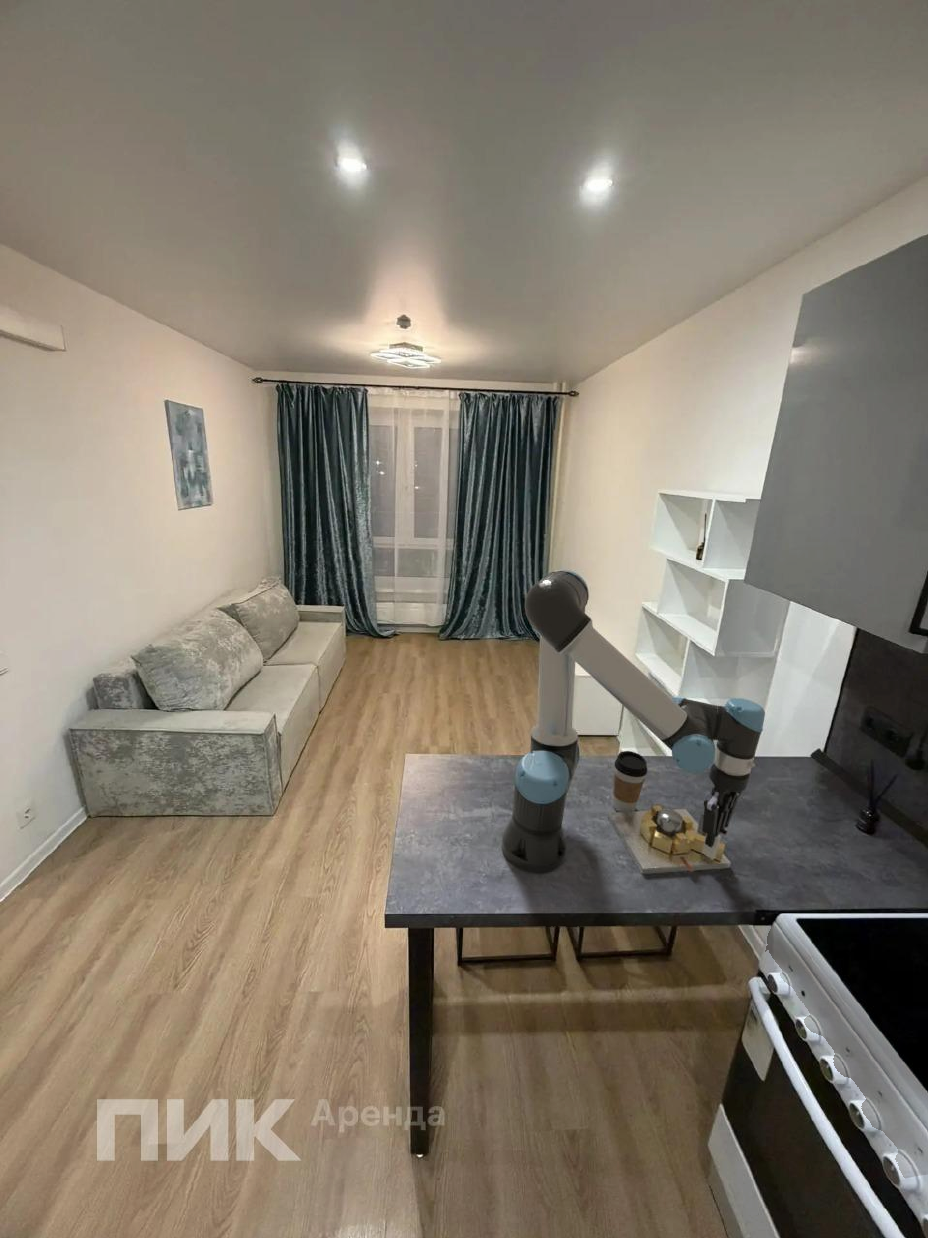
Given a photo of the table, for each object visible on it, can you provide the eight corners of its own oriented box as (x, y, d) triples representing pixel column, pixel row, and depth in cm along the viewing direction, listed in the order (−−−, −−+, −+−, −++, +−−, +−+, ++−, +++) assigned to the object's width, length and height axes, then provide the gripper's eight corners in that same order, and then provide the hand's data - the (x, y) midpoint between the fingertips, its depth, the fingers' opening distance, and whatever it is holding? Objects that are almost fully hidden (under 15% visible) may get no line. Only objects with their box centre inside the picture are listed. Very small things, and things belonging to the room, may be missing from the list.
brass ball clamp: (635, 839, 122) (638, 824, 121) (647, 813, 132) (650, 799, 131) (717, 874, 113) (721, 859, 111) (724, 843, 122) (728, 829, 121)
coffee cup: (635, 798, 140) (644, 752, 136) (643, 819, 132) (652, 770, 128) (605, 795, 141) (613, 748, 136) (610, 815, 133) (619, 766, 128)
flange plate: (645, 880, 112) (651, 852, 110) (607, 817, 132) (611, 793, 129) (735, 873, 116) (743, 847, 113) (685, 813, 135) (691, 790, 133)
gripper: (733, 785, 103) (709, 877, 110) (762, 767, 111) (738, 854, 118) (699, 767, 109) (678, 855, 116) (728, 751, 117) (707, 835, 123)
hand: (708, 855), depth 117 cm, fingers closed
